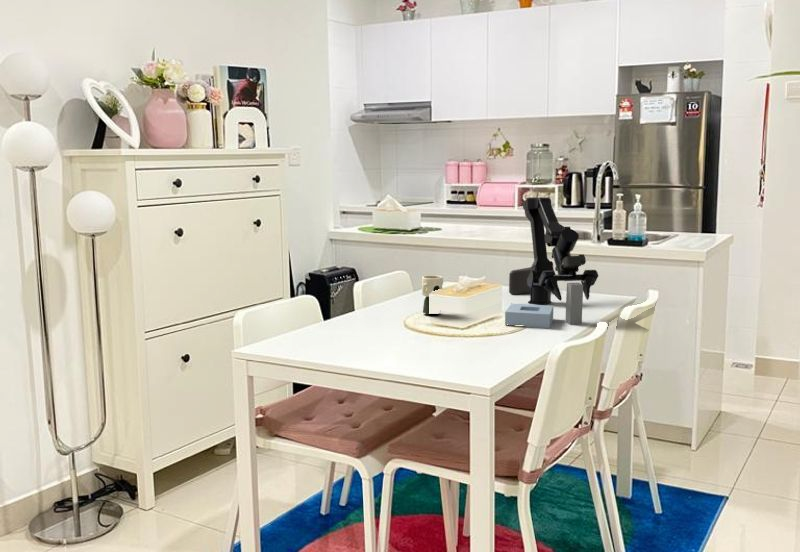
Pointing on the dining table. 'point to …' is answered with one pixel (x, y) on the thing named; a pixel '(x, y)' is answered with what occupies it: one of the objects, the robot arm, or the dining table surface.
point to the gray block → (574, 303)
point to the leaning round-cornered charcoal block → (519, 281)
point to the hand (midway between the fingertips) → (574, 299)
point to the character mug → (430, 288)
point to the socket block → (529, 315)
